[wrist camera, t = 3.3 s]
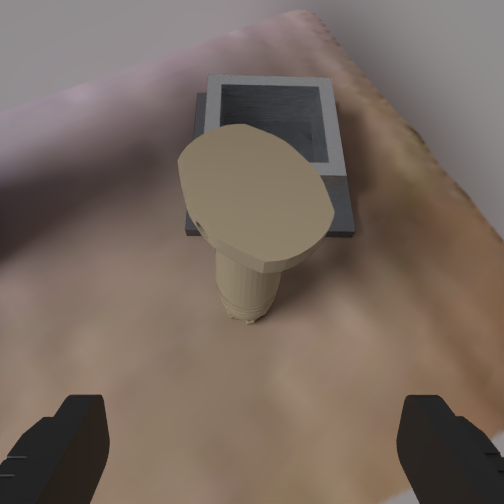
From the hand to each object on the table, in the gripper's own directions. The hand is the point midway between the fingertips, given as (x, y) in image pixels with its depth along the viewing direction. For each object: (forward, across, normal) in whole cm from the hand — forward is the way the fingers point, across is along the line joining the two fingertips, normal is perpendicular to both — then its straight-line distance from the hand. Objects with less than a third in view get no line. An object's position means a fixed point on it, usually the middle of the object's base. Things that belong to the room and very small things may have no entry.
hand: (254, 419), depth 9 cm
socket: (+26, -2, -5) cm, 27 cm away
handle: (+16, 0, +5) cm, 17 cm away
